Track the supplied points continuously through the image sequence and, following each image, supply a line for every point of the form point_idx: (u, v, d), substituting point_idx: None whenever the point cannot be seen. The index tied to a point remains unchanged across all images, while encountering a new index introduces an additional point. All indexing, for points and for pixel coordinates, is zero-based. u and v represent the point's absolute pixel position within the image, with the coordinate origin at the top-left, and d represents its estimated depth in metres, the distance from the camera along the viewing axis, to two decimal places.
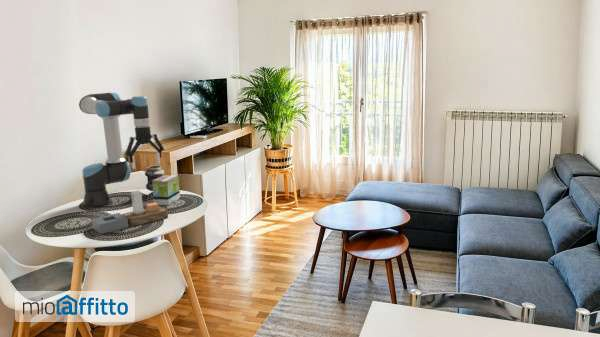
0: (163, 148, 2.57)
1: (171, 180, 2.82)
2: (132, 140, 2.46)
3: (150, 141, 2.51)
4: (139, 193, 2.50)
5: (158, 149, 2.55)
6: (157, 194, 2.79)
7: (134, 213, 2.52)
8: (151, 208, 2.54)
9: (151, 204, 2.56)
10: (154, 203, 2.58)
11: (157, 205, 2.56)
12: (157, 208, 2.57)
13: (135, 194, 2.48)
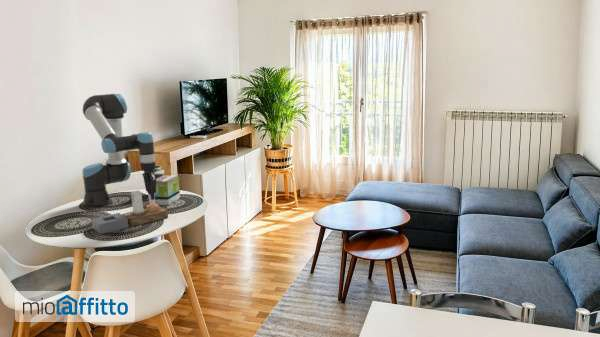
0: (151, 192, 2.52)
1: (171, 180, 2.82)
2: (143, 176, 2.57)
3: (147, 179, 2.52)
4: (139, 193, 2.50)
5: (149, 190, 2.54)
6: (157, 195, 2.79)
7: (134, 213, 2.52)
8: (151, 209, 2.55)
9: None
10: None
11: (157, 206, 2.57)
12: (157, 209, 2.57)
13: (135, 194, 2.48)
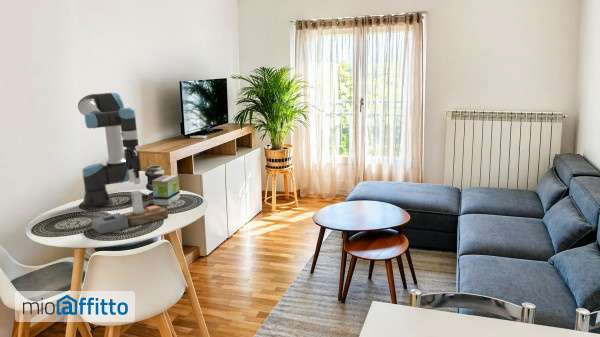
0: (135, 169, 2.42)
1: (171, 180, 2.82)
2: (125, 152, 2.49)
3: (130, 156, 2.43)
4: (139, 193, 2.50)
5: (133, 168, 2.44)
6: (157, 194, 2.79)
7: (134, 213, 2.52)
8: (151, 211, 2.55)
9: (151, 207, 2.57)
10: (154, 206, 2.58)
11: (157, 208, 2.57)
12: None
13: (135, 194, 2.48)
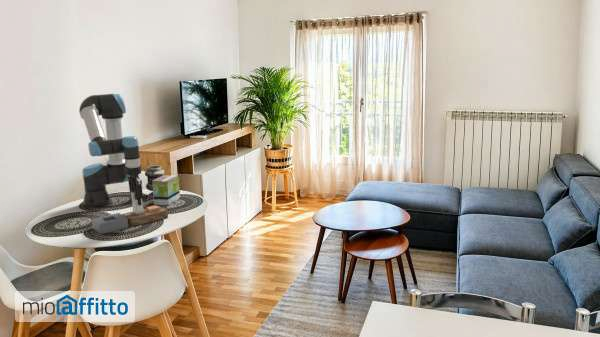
0: (138, 197, 2.46)
1: (171, 180, 2.82)
2: (128, 180, 2.52)
3: (133, 184, 2.47)
4: None
5: (136, 196, 2.48)
6: (157, 194, 2.79)
7: (134, 213, 2.52)
8: (151, 211, 2.55)
9: (151, 207, 2.57)
10: (154, 206, 2.58)
11: (157, 208, 2.57)
12: None
13: (135, 194, 2.48)
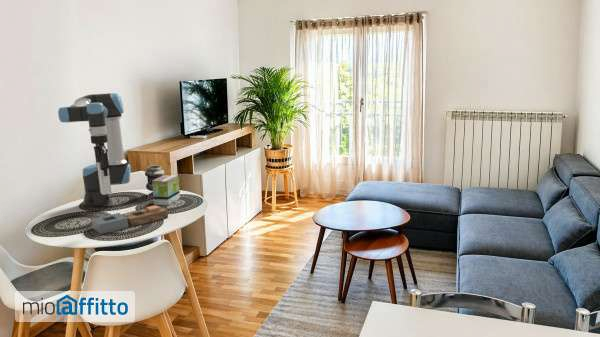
0: (103, 167, 2.32)
1: (171, 180, 2.82)
2: (94, 149, 2.39)
3: (98, 153, 2.33)
4: None
5: (102, 166, 2.34)
6: (157, 194, 2.79)
7: (100, 185, 2.38)
8: (151, 211, 2.55)
9: (151, 207, 2.57)
10: (154, 206, 2.58)
11: (157, 208, 2.57)
12: None
13: None
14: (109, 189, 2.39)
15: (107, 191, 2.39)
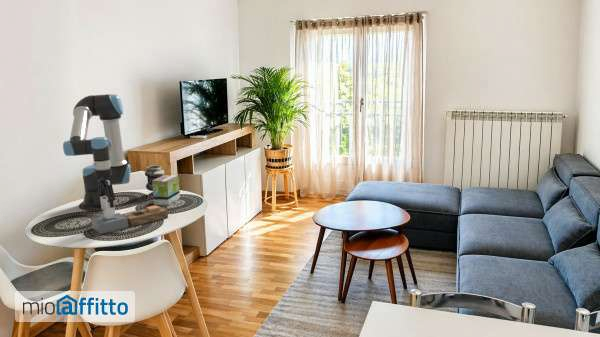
0: (110, 199, 2.33)
1: (171, 180, 2.82)
2: (98, 180, 2.43)
3: (103, 186, 2.37)
4: None
5: (108, 198, 2.35)
6: (157, 194, 2.79)
7: (105, 220, 2.42)
8: (151, 211, 2.55)
9: (151, 207, 2.57)
10: (154, 206, 2.58)
11: (157, 208, 2.57)
12: None
13: (106, 200, 2.39)
14: None
15: None
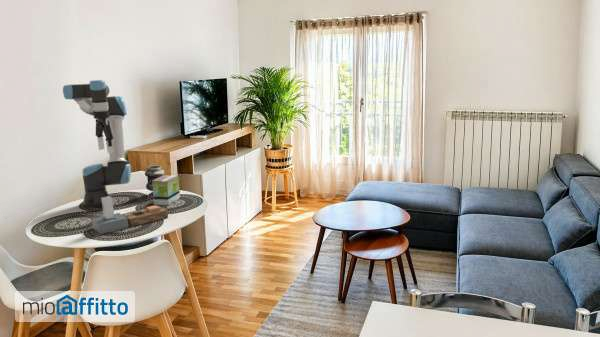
0: (108, 137, 2.43)
1: (171, 180, 2.82)
2: (96, 122, 2.54)
3: (101, 127, 2.47)
4: (110, 199, 2.40)
5: (106, 137, 2.45)
6: (157, 194, 2.79)
7: (105, 220, 2.43)
8: (151, 211, 2.55)
9: (151, 207, 2.57)
10: (154, 206, 2.58)
11: (157, 208, 2.57)
12: None
13: (105, 200, 2.39)
14: None
15: None
